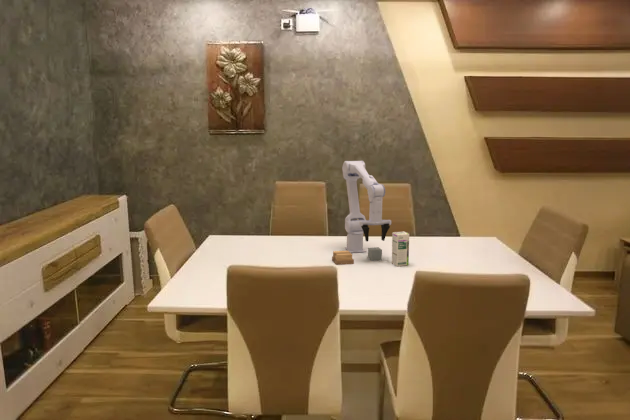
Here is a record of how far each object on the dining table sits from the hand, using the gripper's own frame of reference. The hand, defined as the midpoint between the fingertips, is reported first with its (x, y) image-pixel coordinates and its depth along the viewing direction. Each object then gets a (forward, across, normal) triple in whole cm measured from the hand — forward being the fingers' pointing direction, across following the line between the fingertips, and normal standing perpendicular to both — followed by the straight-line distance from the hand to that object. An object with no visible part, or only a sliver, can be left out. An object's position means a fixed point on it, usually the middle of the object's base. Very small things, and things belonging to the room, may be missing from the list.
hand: (374, 240), depth 246 cm
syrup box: (+10, +9, -8) cm, 16 cm away
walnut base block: (+10, -15, +1) cm, 18 cm away
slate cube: (+10, +1, +3) cm, 10 cm away
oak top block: (+8, -15, +1) cm, 17 cm away
